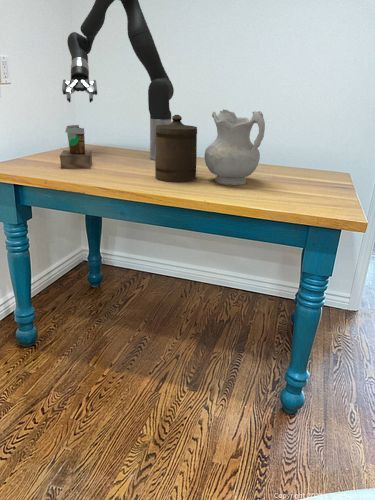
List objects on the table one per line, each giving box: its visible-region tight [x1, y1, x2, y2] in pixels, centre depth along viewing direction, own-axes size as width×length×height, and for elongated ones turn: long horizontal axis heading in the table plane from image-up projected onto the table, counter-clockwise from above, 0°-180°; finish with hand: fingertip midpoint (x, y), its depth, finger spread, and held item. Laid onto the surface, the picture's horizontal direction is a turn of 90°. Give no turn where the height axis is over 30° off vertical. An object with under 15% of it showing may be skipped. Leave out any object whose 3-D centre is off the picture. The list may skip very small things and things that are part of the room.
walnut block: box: [59, 149, 93, 170], centre depth 165 cm, size 11×12×5 cm
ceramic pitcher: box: [204, 109, 266, 186], centre depth 144 cm, size 22×20×25 cm
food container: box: [65, 124, 86, 155], centre depth 163 cm, size 12×6×10 cm, turn 23°
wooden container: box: [154, 114, 198, 183], centre depth 148 cm, size 15×15×22 cm
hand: (79, 100), depth 173 cm, fingers open, 8 cm apart
